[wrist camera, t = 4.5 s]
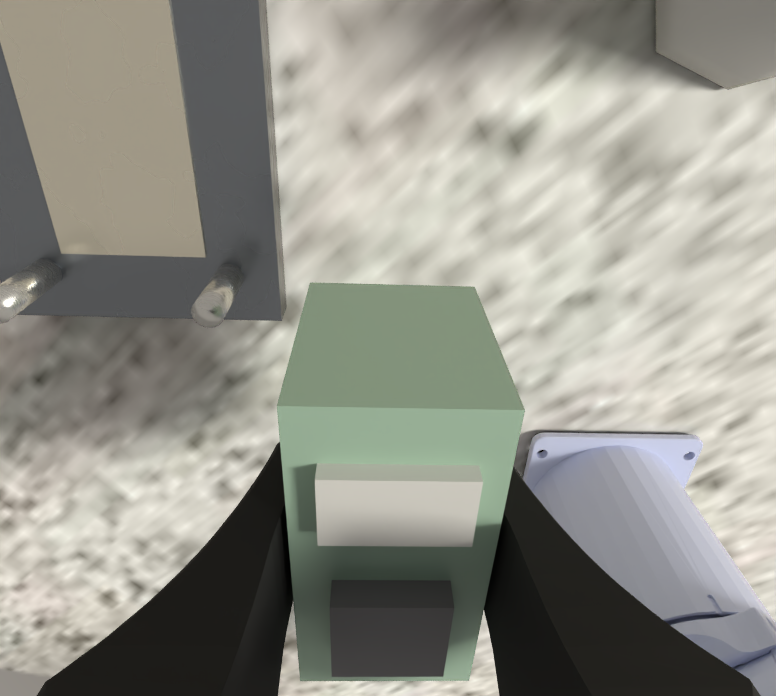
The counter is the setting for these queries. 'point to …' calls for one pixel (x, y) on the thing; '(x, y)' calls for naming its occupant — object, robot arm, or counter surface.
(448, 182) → the counter surface
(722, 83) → the flask
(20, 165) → the chassis
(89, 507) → the counter surface
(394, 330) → the module
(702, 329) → the counter surface
